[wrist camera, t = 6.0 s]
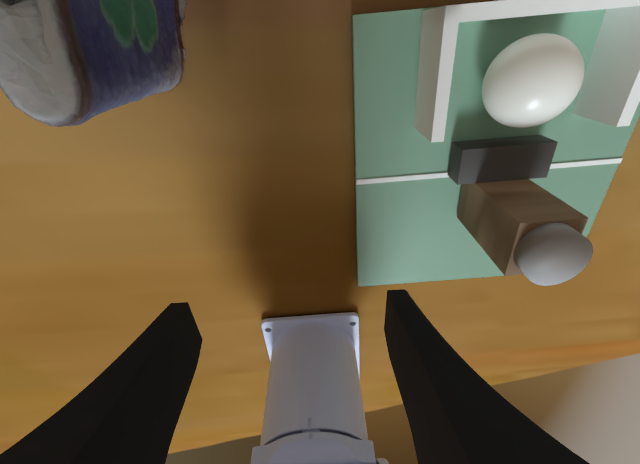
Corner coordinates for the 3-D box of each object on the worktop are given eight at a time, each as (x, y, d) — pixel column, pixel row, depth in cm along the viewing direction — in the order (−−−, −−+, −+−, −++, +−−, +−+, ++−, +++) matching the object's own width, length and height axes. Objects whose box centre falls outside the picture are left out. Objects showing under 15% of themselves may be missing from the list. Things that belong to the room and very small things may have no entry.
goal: (583, 112, 18) (629, 125, 15) (414, 127, 18) (431, 142, 15) (624, -8, 15) (689, -18, 12) (422, 11, 15) (445, 5, 12)
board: (566, 265, 24) (573, 271, 23) (357, 281, 24) (358, 287, 24) (684, -16, 15) (699, -18, 15) (351, 15, 15) (353, 14, 15)
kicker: (518, 211, 21) (602, 282, 15) (441, 218, 21) (494, 291, 15) (540, 134, 18) (654, 182, 12) (451, 142, 18) (521, 193, 12)
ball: (598, 125, 14) (620, 17, 12) (505, 133, 14) (517, 26, 12) (537, 123, 17) (549, 40, 16) (464, 129, 17) (470, 47, 16)
